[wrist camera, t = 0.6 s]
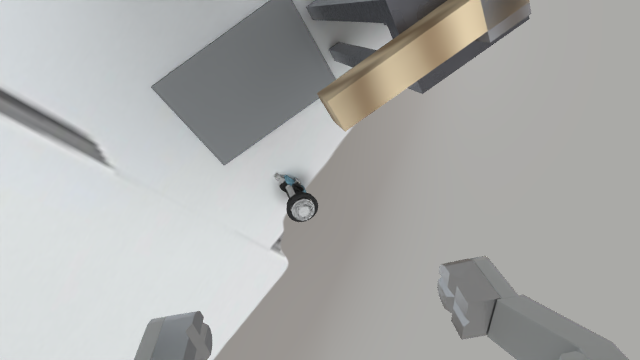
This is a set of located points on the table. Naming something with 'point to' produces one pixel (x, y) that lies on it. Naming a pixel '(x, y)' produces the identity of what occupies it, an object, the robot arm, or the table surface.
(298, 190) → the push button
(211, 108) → the rubber mat
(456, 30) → the beech bar
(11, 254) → the table surface
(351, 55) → the black stand
